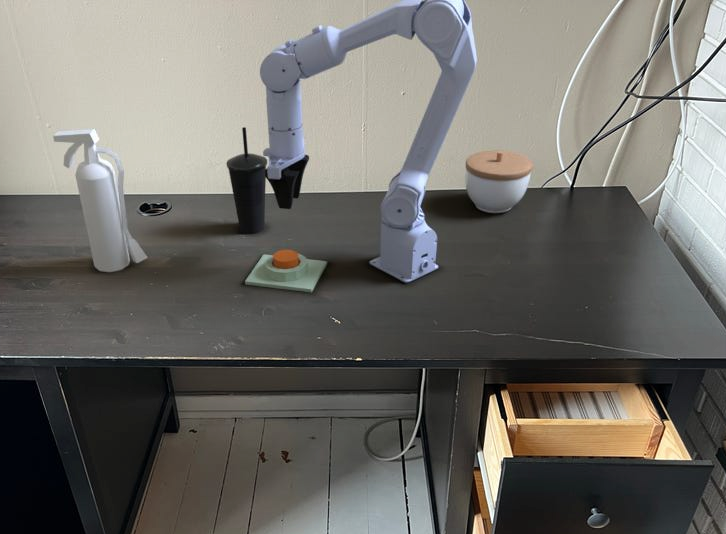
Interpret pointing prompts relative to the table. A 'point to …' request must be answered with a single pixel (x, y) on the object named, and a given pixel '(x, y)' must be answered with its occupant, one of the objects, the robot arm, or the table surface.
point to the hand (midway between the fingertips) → (289, 202)
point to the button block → (287, 274)
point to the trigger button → (285, 259)
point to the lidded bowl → (497, 179)
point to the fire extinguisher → (101, 202)
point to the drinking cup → (248, 188)
